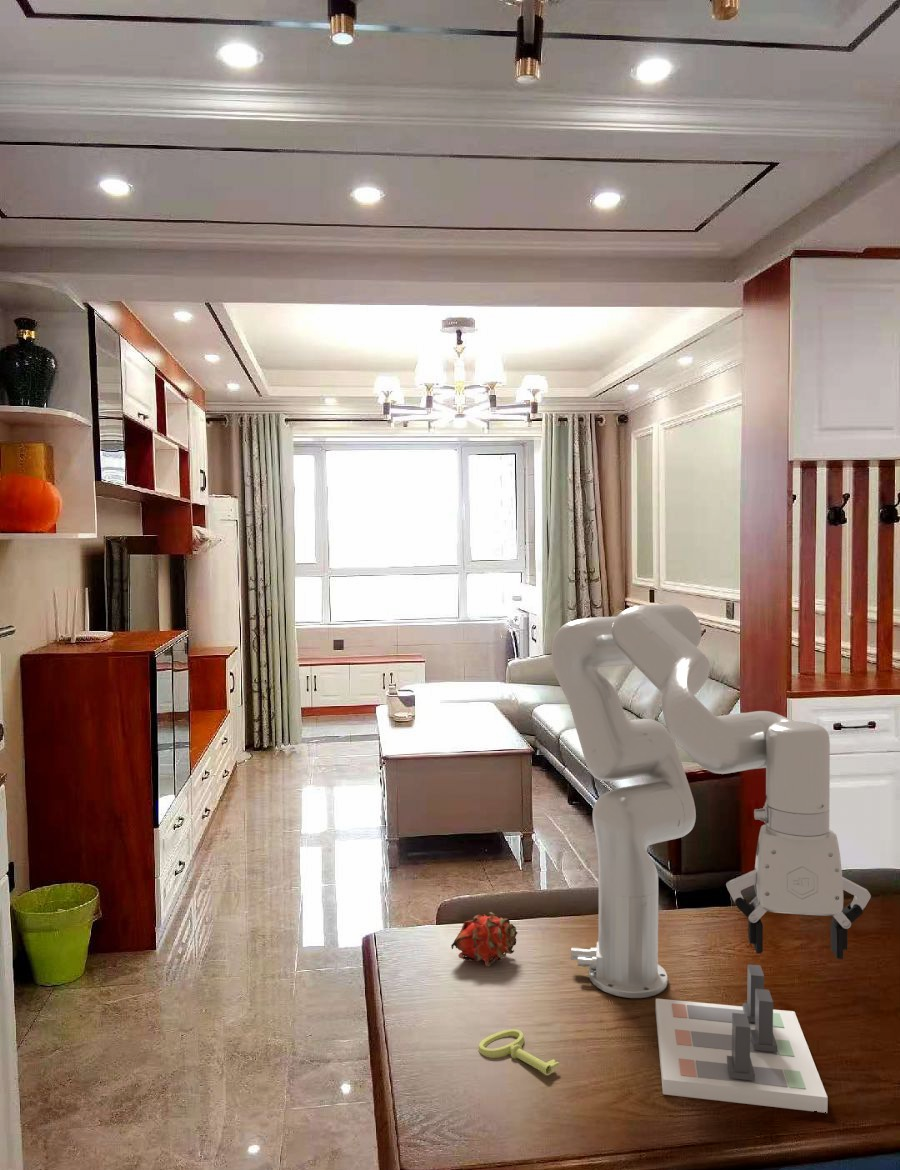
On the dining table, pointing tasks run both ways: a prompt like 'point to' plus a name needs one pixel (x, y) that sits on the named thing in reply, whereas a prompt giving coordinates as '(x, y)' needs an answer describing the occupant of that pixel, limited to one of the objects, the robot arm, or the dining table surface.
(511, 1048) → the key
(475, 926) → the dragon fruit
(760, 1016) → the middle switch
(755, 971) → the far switch
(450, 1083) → the dining table surface
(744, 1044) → the switch
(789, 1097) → the switch board
